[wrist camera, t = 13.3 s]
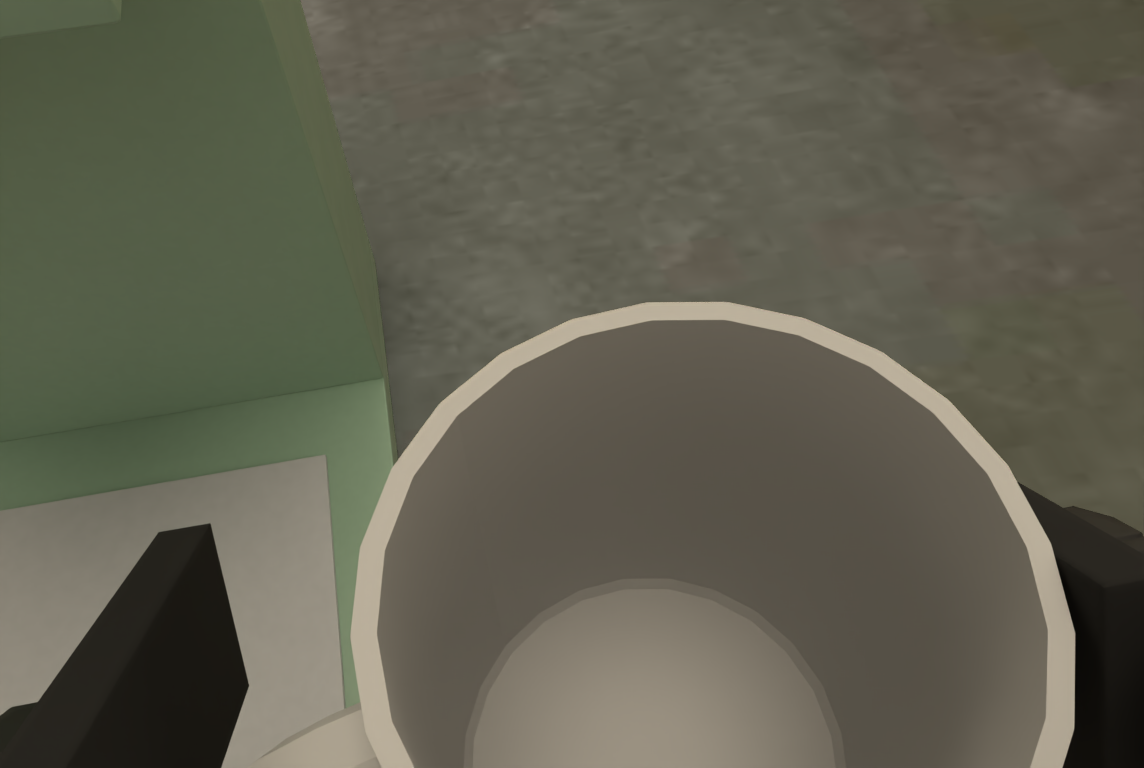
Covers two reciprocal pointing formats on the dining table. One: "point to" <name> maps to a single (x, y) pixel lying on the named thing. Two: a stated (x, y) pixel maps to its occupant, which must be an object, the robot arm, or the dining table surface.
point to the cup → (701, 566)
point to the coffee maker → (184, 338)
